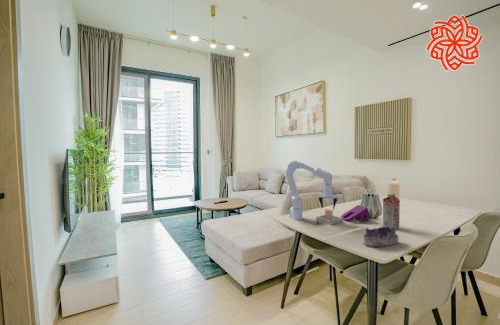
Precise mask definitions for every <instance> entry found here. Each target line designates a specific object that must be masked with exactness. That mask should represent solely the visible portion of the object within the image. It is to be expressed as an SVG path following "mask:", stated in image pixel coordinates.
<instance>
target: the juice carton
mask: <svg viewBox="0 0 500 325" xmlns="http://www.w3.org/2000/svg"><path fill="white" fill-rule="evenodd" d="M400 205H401V204H400V199H399V198H398V197H397V196H396V195H395V193H392V194H391V193H390V194H387V197H385V198H383V199H382V226H383V227H389V228H390V229H391V228H395V229H396V230H398V229H400Z"/></svg>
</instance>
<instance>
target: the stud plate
mask: <svg viewBox="0 0 500 325" xmlns="http://www.w3.org/2000/svg"><path fill="white" fill-rule="evenodd" d="M309 224H310V225H313V226H315V227H322V226H325V225H327V224H326V223H324V222H321V221H320V220H319V219H316V218H315V221H311V222H310V221H309Z"/></svg>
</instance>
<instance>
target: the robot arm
mask: <svg viewBox="0 0 500 325" xmlns="http://www.w3.org/2000/svg"><path fill="white" fill-rule="evenodd" d="M297 169H298V170H300V169H303V170H306V171H308V172H310V173H312V174H313V176H315V177H317V178H319V179H323V194H317V196H316V198H317V199H318V201H319V203H320V205H321V209H323V208H324V203H323V201H324V200H323V199H328V200H330V199H331V200H333V203H332V204H333V206H332V209H333V210H335V206H336V204H337V202H338V200H339V199H340V196H339V195H333V174H332V173H331V172H328V171H327V170H326V171H325V170H322V169H321V167H316V168H314V167H312V166H310V165H308V164H306V163H304V162H302V161H297V160H293V161H290V162H289V164H287V168H286V172H285V175H286V179H287V182H288V186H289V190H290V194H291V207H290V208H289V217H288V219H293V220H297V221H300V220H303V206H302V204H303V199H302V198H301V197H300V194H299V191H298V189H297V184H296V181H295V177H294V173H295V172H296V170H297Z"/></svg>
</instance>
